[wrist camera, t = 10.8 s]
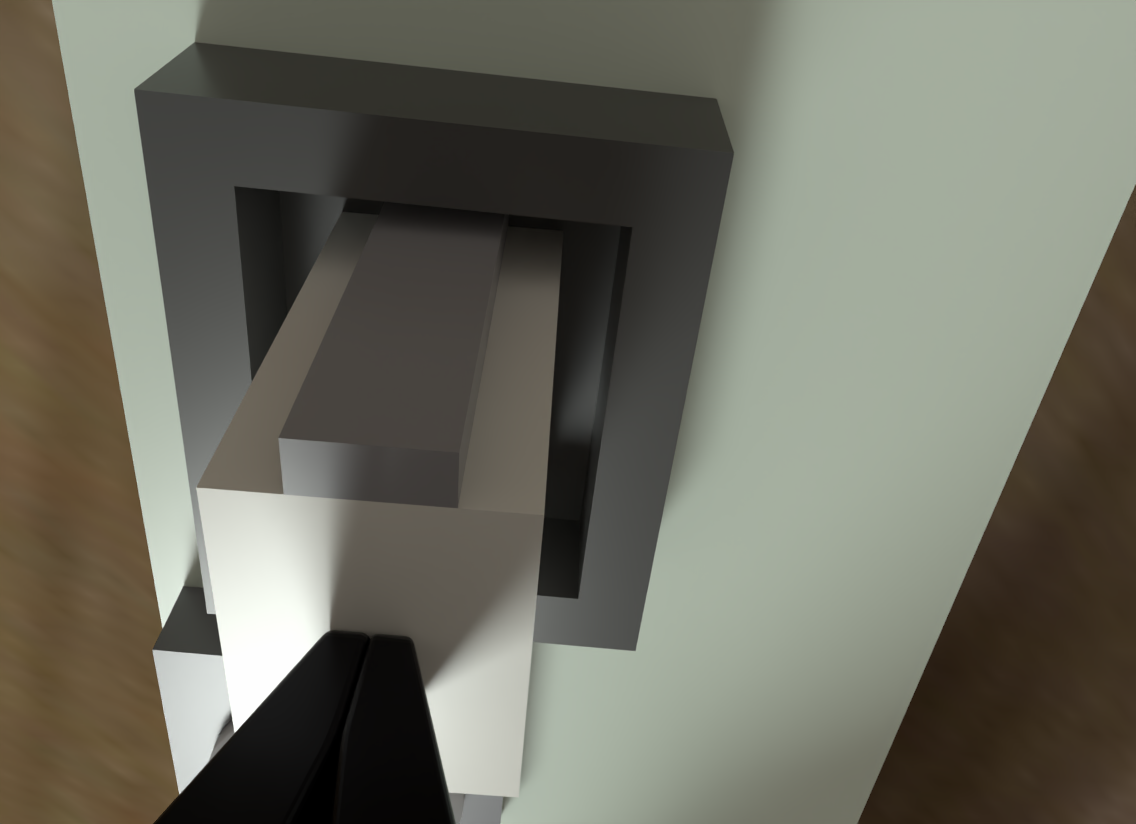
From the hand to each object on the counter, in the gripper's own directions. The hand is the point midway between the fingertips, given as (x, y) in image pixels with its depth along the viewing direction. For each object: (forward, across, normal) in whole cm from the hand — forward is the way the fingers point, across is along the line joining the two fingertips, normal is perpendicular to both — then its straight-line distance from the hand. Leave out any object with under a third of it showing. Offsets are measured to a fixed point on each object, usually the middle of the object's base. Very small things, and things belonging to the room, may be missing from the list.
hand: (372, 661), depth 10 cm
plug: (+6, 0, 0) cm, 6 cm away
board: (+7, -2, +3) cm, 8 cm away
